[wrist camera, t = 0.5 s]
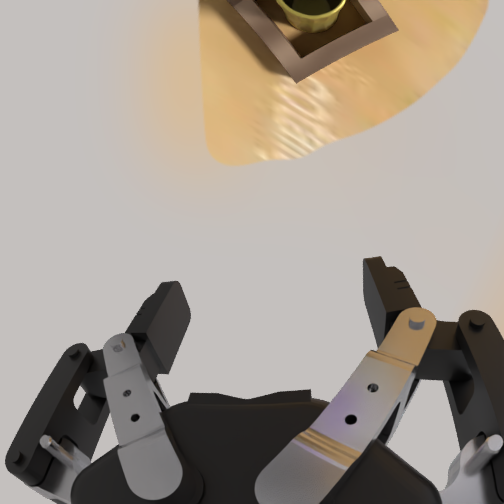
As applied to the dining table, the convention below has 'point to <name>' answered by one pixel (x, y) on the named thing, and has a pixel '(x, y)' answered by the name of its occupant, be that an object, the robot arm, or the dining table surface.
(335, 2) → the vase
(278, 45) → the walnut frame
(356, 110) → the dining table surface
